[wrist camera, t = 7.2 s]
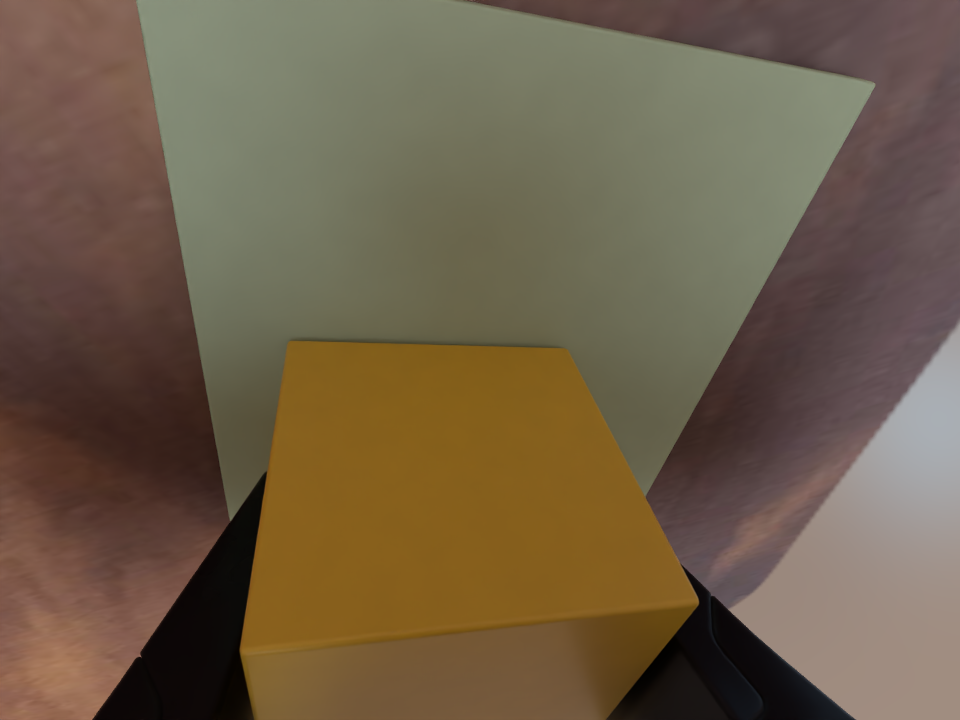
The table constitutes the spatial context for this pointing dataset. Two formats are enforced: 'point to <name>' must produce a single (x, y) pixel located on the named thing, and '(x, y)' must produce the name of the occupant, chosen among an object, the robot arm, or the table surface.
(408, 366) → the yellow block
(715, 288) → the mat
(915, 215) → the table surface
